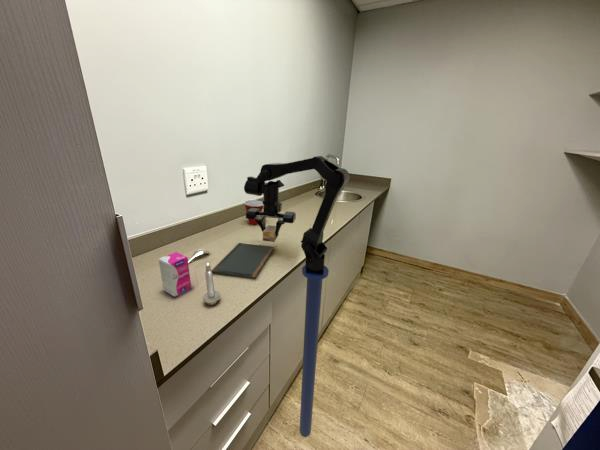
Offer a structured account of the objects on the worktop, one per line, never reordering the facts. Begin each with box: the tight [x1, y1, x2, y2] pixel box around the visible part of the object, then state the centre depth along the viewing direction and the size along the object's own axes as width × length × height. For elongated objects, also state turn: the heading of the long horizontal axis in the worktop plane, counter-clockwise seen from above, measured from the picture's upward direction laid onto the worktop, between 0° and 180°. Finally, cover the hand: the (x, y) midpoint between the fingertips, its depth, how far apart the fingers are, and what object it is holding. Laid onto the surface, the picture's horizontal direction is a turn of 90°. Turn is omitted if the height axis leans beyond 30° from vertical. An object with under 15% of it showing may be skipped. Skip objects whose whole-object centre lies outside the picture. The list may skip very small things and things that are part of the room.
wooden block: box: [262, 224, 280, 243], centre depth 96 cm, size 4×7×4 cm, turn 170°
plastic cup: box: [243, 199, 264, 226], centre depth 131 cm, size 11×11×12 cm
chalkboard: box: [211, 242, 275, 280], centre depth 94 cm, size 16×24×1 cm, turn 170°
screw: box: [201, 262, 221, 306], centre depth 68 cm, size 13×5×5 cm
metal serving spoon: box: [188, 248, 210, 263], centre depth 89 cm, size 20×4×5 cm
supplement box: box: [158, 251, 192, 299], centre depth 73 cm, size 6×6×12 cm
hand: (270, 235), depth 97 cm, fingers closed on wooden block, 4 cm apart
